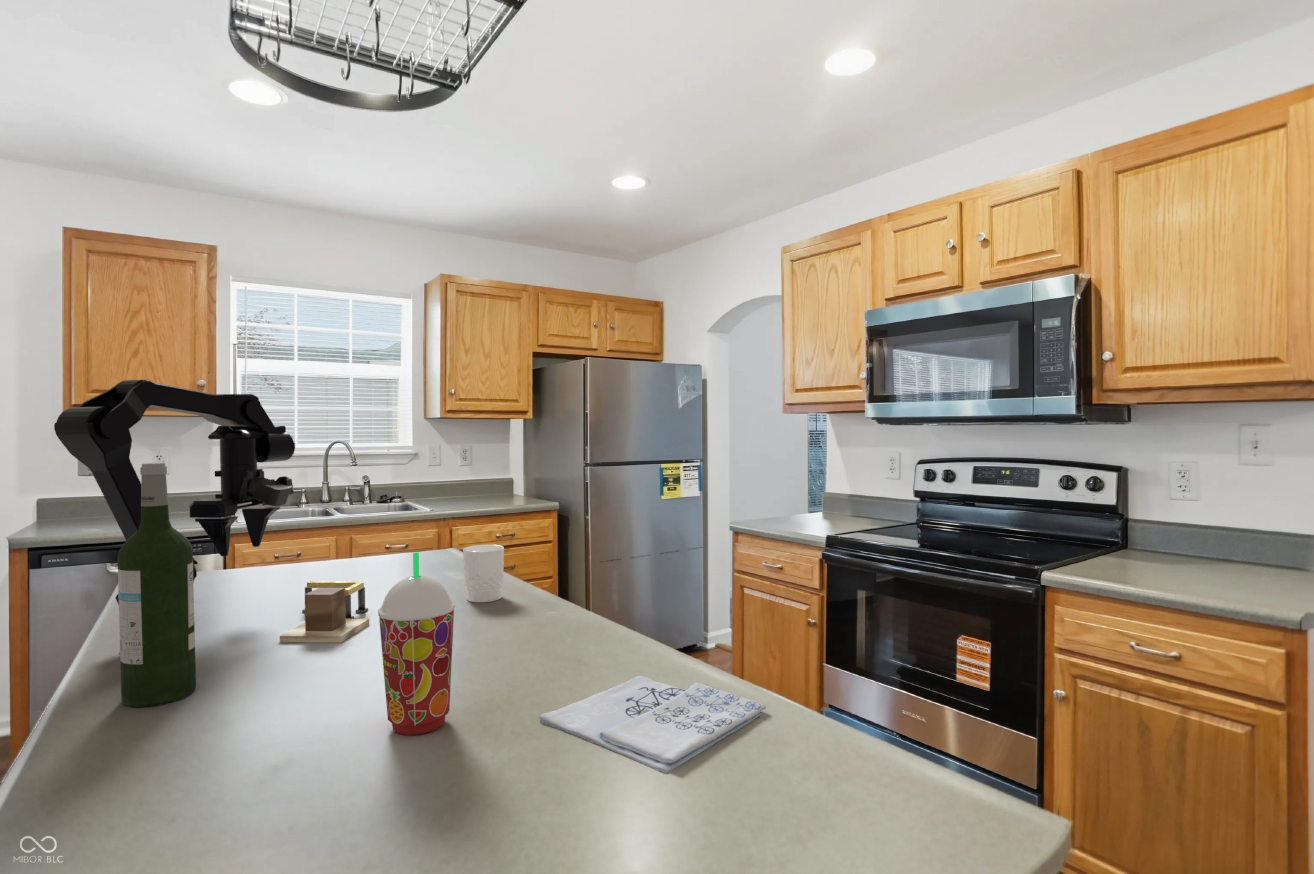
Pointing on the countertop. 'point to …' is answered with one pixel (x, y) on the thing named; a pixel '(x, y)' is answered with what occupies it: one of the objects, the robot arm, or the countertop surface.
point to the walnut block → (325, 609)
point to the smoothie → (417, 653)
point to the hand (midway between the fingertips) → (240, 551)
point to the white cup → (483, 572)
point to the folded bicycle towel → (655, 720)
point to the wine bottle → (156, 603)
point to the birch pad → (325, 633)
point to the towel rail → (350, 589)
